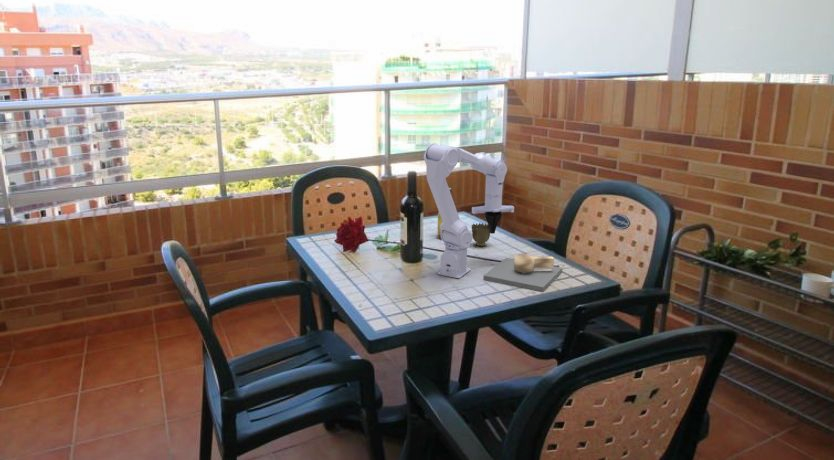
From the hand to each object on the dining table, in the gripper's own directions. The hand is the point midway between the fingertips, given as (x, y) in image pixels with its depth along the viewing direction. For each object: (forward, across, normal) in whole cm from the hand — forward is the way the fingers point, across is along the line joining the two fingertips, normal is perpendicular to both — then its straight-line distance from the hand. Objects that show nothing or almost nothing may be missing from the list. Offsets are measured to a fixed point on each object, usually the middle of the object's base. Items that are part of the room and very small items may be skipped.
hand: (492, 232), depth 213 cm
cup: (+11, +1, +17) cm, 20 cm away
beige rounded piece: (+8, +10, -16) cm, 20 cm away
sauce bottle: (+11, -10, +29) cm, 32 cm away
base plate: (+10, +6, -16) cm, 20 cm away
